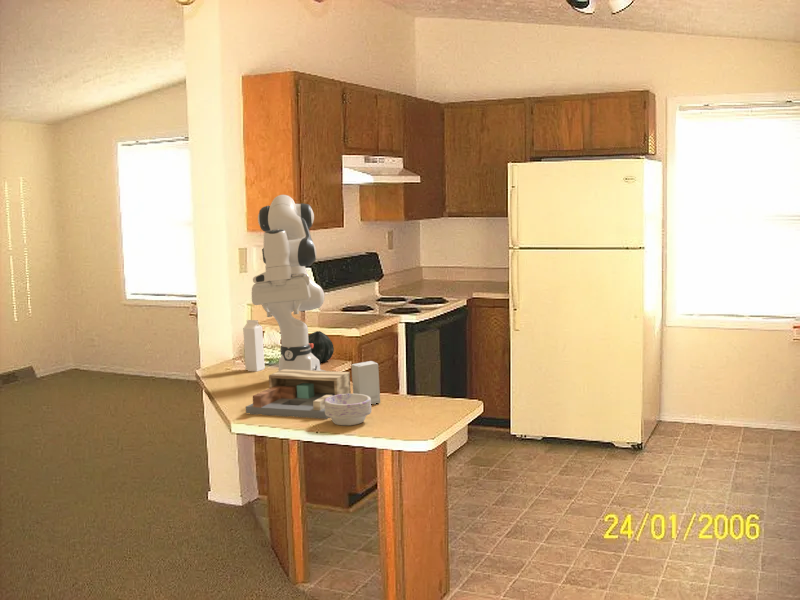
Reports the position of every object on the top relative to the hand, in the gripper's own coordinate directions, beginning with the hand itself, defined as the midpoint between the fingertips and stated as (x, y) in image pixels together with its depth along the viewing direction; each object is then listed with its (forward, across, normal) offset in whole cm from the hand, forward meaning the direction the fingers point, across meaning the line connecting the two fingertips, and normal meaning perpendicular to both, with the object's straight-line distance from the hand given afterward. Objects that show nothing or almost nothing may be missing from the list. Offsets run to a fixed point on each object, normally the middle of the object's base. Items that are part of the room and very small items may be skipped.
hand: (283, 315), depth 297 cm
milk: (+21, +35, -76) cm, 86 cm away
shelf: (+29, -3, -15) cm, 33 cm away
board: (+33, -2, -8) cm, 34 cm away
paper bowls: (+37, -22, +12) cm, 45 cm away
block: (+30, -2, -13) cm, 32 cm away
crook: (+30, +7, -5) cm, 31 cm away
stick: (+32, -11, +2) cm, 34 cm away
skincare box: (+34, -24, -12) cm, 43 cm away
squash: (+21, +11, -94) cm, 97 cm away
